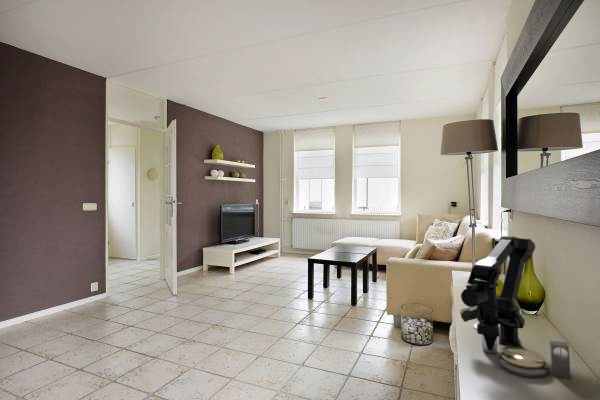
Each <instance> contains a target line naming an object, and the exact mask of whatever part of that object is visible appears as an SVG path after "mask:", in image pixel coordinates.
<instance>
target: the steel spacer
mask: <svg viewBox="0 0 600 400" xmlns="http://www.w3.org/2000/svg"><path fill="white" fill-rule="evenodd" d="M481 342H482V346H481V347H482V350H483V352H485V353H488V354H497V353H498V338H497V339H496V341H495V344H494V346H493V348H492V350H488V348H487V345H486V341H485V338H484V335H483V334H481Z"/></svg>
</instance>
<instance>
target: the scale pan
mask: <svg viewBox="0 0 600 400" xmlns="http://www.w3.org/2000/svg"><path fill="white" fill-rule="evenodd" d="M501 355H502V358H503V360H505V361H506V362H508V363H510V364H512V365H515V366H518V367H523V368H530V369H537V368H542V367H544V366H545V365H546V362H547V360H546V358H545V356H543V355H542V354H540V353H538V352H535V351H532V350H527V349H522V348H506V349H504V350H502V352H501Z"/></svg>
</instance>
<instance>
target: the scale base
mask: <svg viewBox="0 0 600 400" xmlns="http://www.w3.org/2000/svg"><path fill="white" fill-rule="evenodd" d="M549 347H550V362H551V363H550V365H551V373H552V376H553V377H559V378H564V379H565V378H566V379H572V378H571V376H572V375H571V362H570V347H569V344H568V343H567V342H565V341H557V340H549ZM499 365H500V366H499V367H500V368H502V369H503V370H504V371H505V372H507V373H509V374H511V375H514V376H517V377H522V378H526V379H544V378H546V377H548V376H549V374H550V368H549V363H548V362H547V361H546V365H545V366H544V367H542V368H537V369H530V368H523V367H518V366H515V365H512V364H510V363H508V362H506V361H505V360H503V358H502V354H501V355H500V356H499Z"/></svg>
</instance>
